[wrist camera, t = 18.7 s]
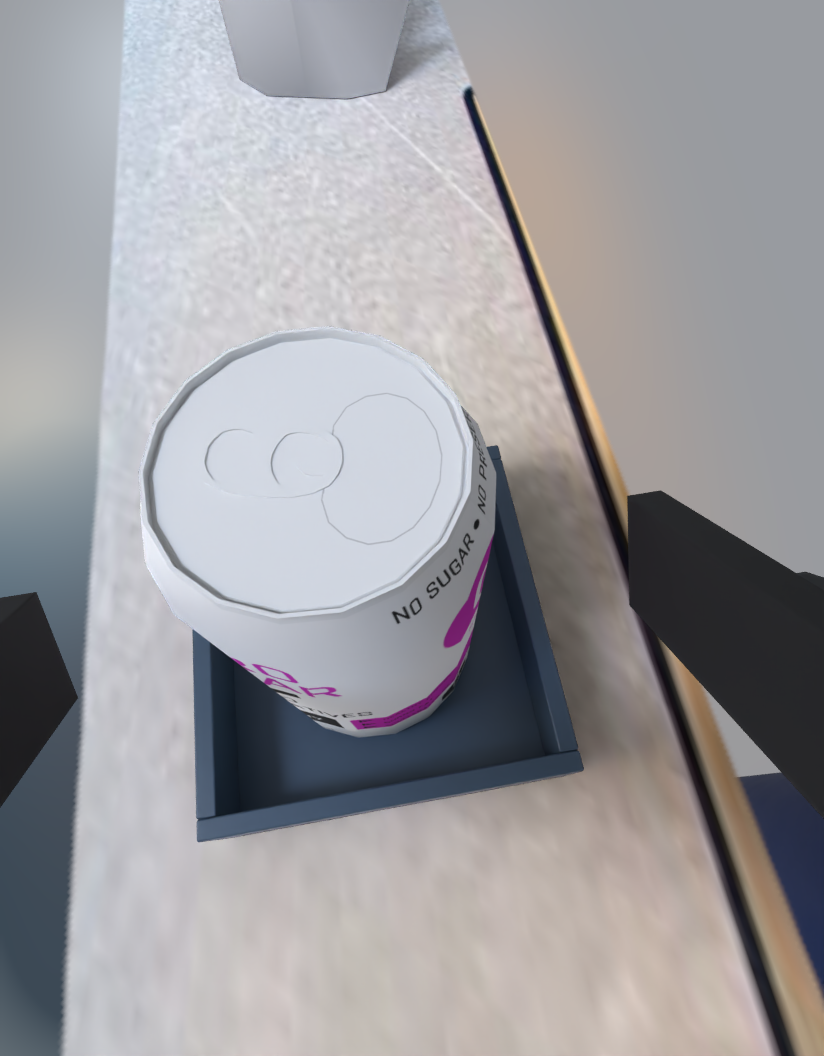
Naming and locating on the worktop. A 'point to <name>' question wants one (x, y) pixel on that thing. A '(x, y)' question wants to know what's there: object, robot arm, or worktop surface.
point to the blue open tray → (396, 759)
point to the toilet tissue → (314, 45)
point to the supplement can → (324, 522)
